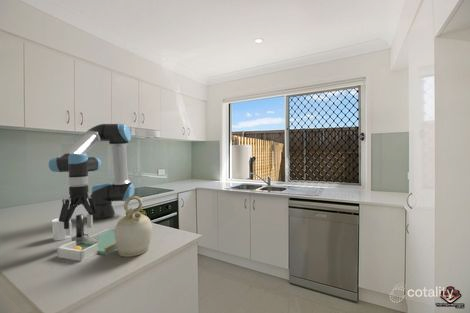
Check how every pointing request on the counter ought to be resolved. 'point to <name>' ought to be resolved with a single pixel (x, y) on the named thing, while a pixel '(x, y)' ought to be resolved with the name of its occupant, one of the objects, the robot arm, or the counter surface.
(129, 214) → the jug
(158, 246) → the counter surface
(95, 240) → the black lever handle
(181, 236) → the counter surface
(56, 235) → the white cup
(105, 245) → the pitch
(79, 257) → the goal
